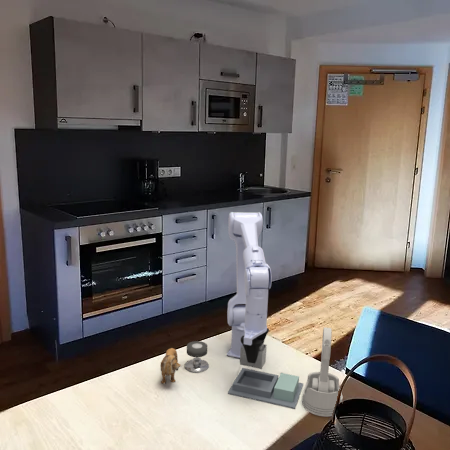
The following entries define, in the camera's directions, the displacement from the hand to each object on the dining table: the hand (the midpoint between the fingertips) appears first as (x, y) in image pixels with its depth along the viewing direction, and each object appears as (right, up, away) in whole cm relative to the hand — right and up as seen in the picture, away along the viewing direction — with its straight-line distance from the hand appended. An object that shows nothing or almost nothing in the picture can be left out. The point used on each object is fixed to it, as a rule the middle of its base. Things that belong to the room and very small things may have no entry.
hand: (254, 358), depth 126 cm
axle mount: (-16, -6, +11) cm, 21 cm away
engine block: (0, -1, 0) cm, 2 cm away
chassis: (+3, -9, +1) cm, 9 cm away
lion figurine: (-23, -7, +6) cm, 25 cm away
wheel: (-16, -1, +10) cm, 19 cm away
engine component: (+17, -11, -5) cm, 21 cm away
